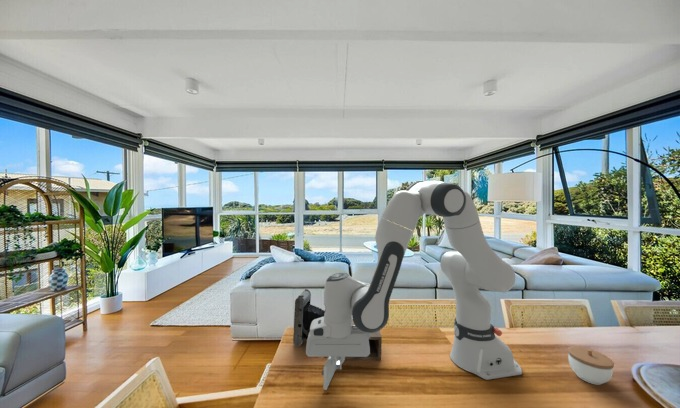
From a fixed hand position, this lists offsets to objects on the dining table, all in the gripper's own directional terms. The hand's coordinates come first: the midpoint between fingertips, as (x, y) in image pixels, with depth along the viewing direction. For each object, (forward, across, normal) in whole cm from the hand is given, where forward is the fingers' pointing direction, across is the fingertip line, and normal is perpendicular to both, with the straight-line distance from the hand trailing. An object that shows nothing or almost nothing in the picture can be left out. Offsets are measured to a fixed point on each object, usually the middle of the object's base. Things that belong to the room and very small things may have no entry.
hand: (338, 368), depth 79 cm
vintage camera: (+4, +10, -22) cm, 24 cm away
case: (+4, -7, -17) cm, 19 cm away
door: (+4, +2, -3) cm, 6 cm away
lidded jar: (+6, -84, -4) cm, 84 cm away
